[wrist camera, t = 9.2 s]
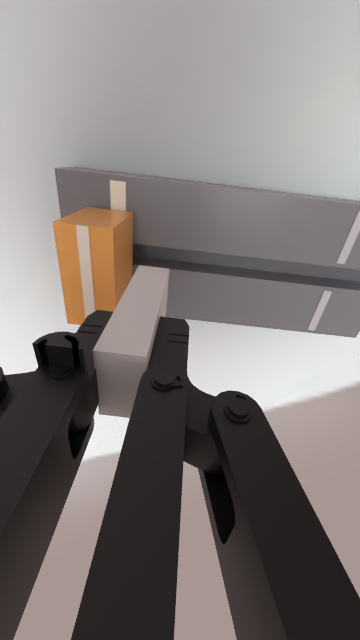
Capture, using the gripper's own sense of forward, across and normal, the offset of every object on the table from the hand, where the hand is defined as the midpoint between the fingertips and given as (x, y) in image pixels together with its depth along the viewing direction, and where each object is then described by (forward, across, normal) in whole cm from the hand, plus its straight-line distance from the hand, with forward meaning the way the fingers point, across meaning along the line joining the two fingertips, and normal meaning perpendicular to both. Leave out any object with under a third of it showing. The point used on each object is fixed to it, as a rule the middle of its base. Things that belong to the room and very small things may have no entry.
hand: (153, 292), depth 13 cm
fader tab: (+8, -4, -1) cm, 9 cm away
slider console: (+10, +4, -1) cm, 11 cm away
